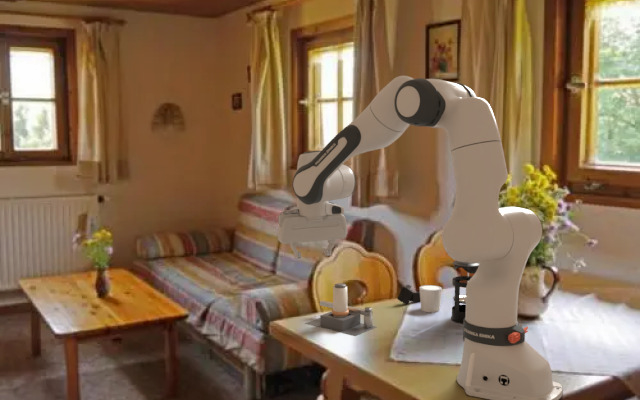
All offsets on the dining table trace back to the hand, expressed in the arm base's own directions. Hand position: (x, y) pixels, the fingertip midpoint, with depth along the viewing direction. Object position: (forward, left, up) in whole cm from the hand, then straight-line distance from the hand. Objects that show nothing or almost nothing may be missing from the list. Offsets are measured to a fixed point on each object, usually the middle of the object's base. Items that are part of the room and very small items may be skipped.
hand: (312, 256), depth 192 cm
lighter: (-10, -36, -20) cm, 42 cm away
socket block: (-9, -2, -20) cm, 22 cm away
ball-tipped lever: (-8, -5, -15) cm, 18 cm away
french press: (-33, -32, -20) cm, 50 cm away
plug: (-9, -2, -19) cm, 21 cm away
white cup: (-19, -34, -20) cm, 43 cm away
